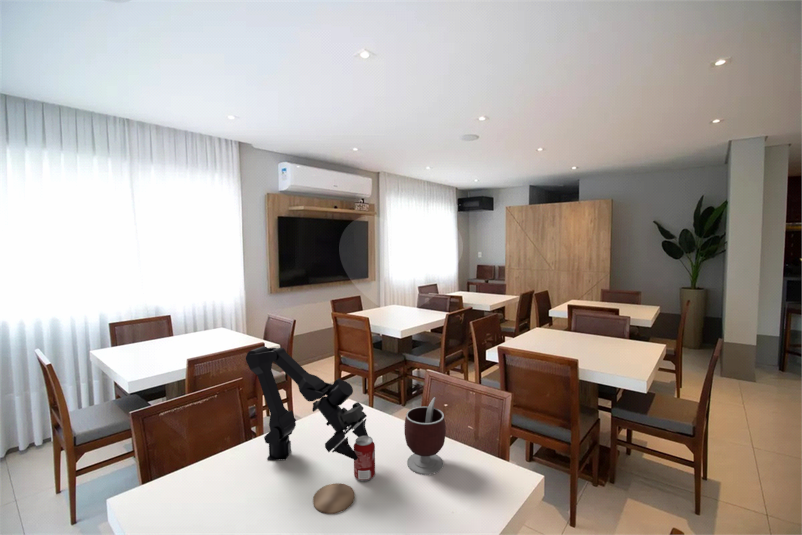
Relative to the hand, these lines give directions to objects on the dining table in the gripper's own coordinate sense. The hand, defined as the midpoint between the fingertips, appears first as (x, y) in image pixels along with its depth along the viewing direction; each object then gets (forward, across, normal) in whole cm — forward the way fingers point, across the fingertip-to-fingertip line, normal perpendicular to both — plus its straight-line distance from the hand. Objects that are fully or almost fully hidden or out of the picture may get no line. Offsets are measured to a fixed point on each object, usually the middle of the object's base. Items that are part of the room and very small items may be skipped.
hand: (363, 451), depth 119 cm
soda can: (+6, 0, +6) cm, 8 cm away
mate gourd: (+18, +14, -6) cm, 23 cm away
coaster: (+3, -13, +8) cm, 16 cm away
